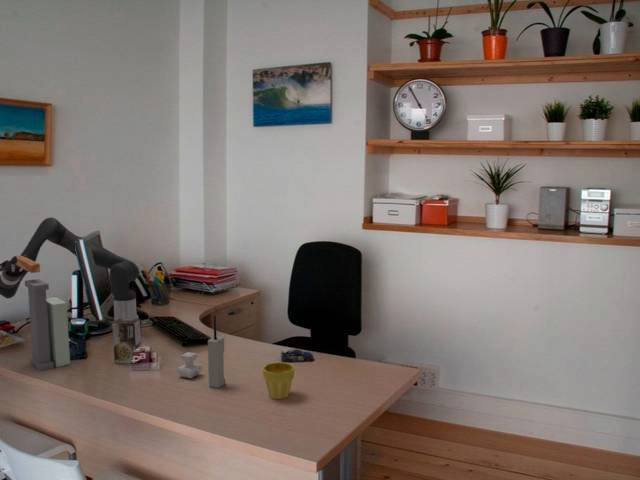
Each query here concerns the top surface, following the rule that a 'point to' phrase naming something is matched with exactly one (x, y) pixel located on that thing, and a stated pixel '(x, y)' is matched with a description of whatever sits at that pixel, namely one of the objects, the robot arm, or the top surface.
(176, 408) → the top surface
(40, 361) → the tall stand
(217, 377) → the vintage mobile phone
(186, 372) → the stamp
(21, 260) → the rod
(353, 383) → the top surface
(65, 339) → the pale green tall block
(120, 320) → the coffee box
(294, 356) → the race car
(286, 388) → the plant pot
